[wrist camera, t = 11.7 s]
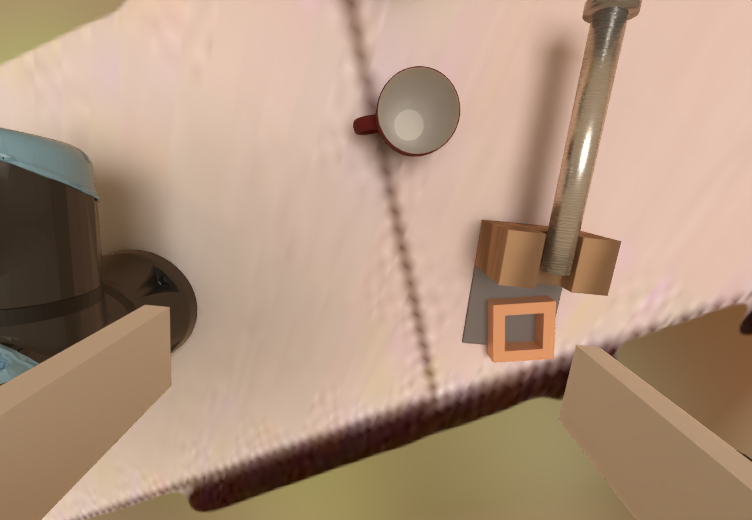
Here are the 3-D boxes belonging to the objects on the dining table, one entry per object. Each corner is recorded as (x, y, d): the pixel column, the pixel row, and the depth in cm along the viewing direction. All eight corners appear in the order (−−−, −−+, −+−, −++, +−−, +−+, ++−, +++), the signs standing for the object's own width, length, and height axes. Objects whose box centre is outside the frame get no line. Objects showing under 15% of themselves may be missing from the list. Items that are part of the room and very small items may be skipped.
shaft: (564, 269, 42) (587, 279, 38) (525, 265, 42) (543, 275, 38) (620, 15, 37) (655, -7, 32) (575, 10, 37) (603, -13, 32)
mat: (462, 341, 51) (462, 342, 51) (474, 264, 49) (475, 265, 49) (546, 349, 52) (548, 350, 51) (563, 273, 49) (565, 274, 49)
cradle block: (474, 264, 49) (498, 285, 40) (482, 219, 48) (508, 229, 39) (563, 273, 49) (607, 295, 40) (573, 229, 48) (621, 241, 39)
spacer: (487, 299, 50) (487, 353, 51) (493, 305, 47) (493, 362, 49) (547, 295, 50) (545, 350, 51) (556, 301, 47) (553, 358, 49)
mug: (366, 172, 46) (364, 171, 37) (348, 106, 45) (341, 86, 35) (448, 149, 46) (468, 142, 36) (433, 81, 44) (450, 55, 34)
